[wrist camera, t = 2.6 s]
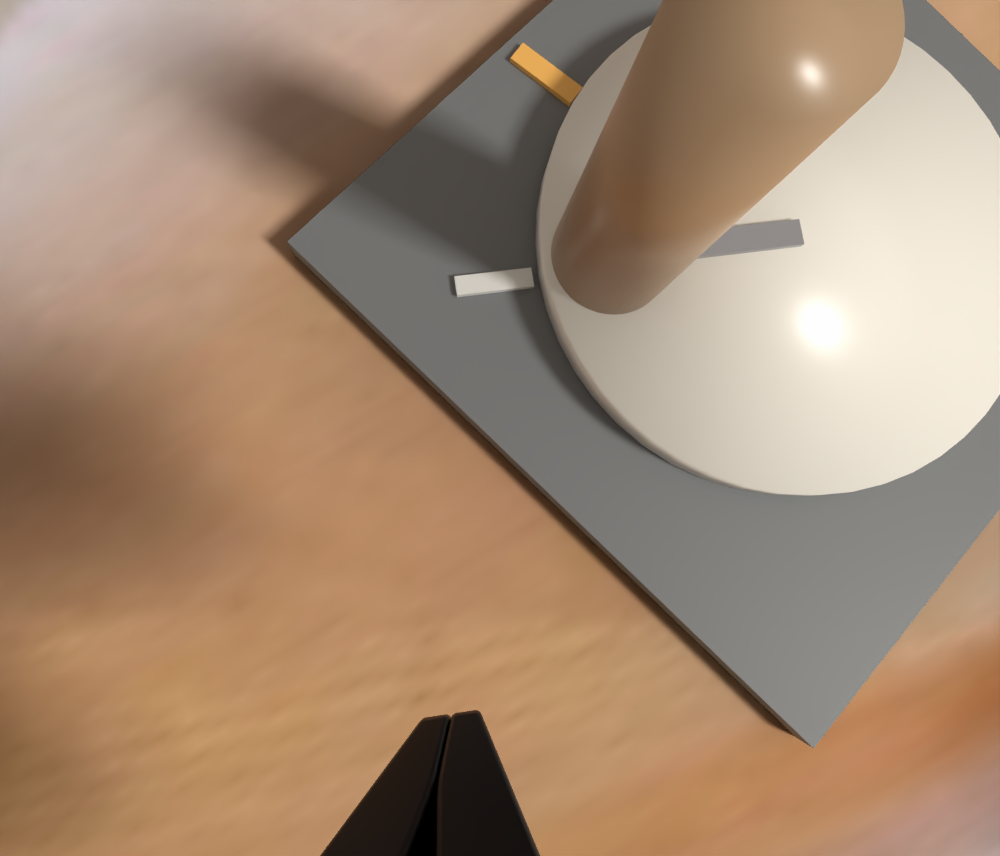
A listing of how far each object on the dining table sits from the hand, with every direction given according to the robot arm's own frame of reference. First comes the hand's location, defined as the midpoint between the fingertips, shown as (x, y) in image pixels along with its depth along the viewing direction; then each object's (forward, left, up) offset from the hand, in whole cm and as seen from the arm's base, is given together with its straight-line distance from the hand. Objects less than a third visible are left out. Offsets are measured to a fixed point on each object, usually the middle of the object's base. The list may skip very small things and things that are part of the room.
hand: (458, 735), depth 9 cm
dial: (0, -16, -10) cm, 19 cm away
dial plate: (0, -16, -11) cm, 19 cm away
